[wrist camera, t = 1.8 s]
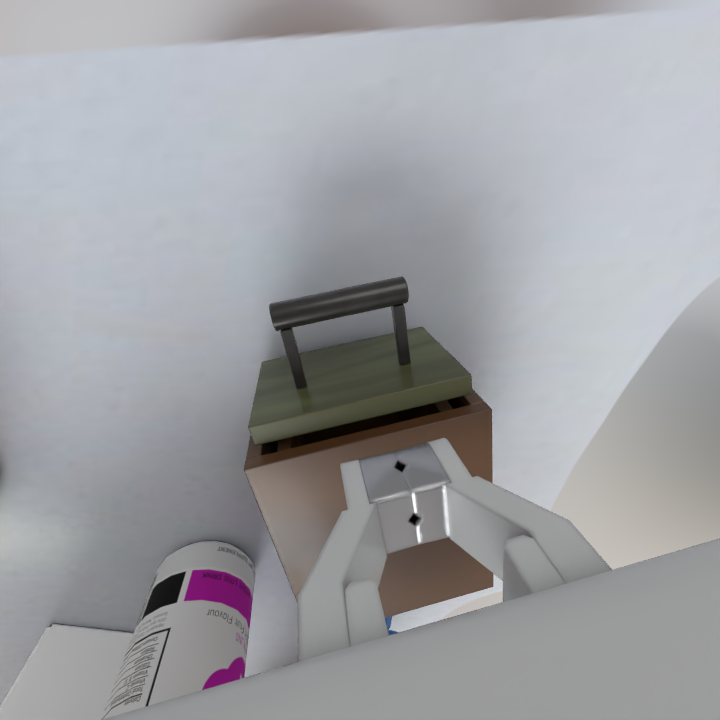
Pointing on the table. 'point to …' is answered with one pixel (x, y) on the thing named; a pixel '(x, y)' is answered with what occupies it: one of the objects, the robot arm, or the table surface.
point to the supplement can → (188, 628)
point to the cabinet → (327, 500)
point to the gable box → (67, 675)
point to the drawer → (351, 372)
